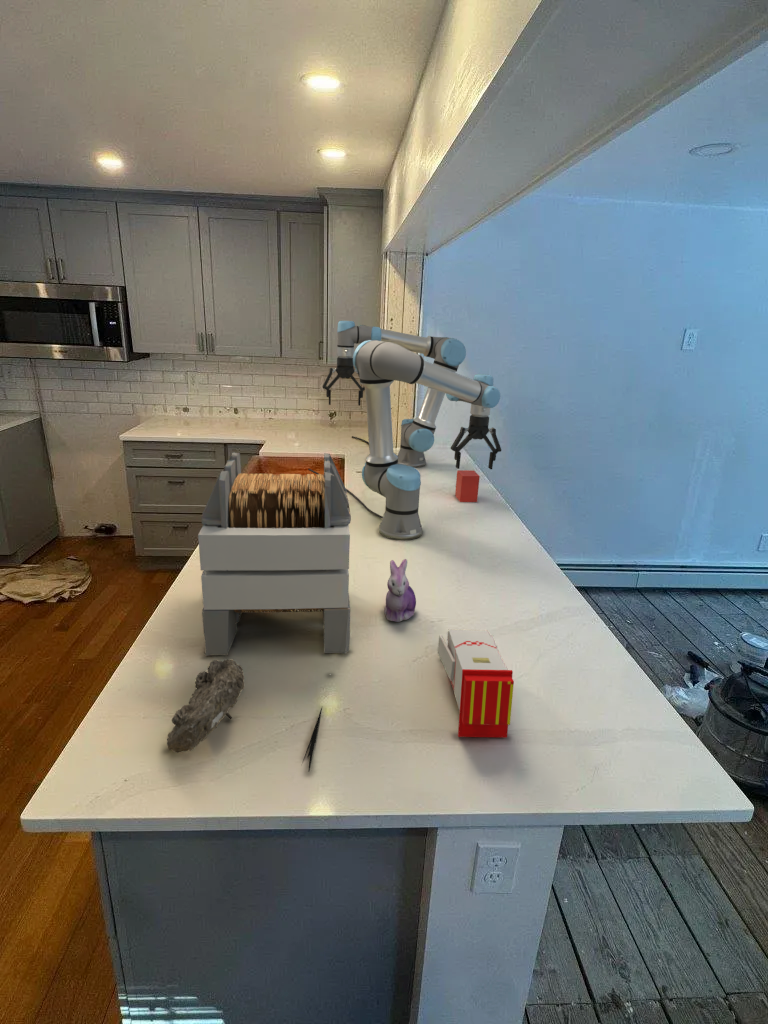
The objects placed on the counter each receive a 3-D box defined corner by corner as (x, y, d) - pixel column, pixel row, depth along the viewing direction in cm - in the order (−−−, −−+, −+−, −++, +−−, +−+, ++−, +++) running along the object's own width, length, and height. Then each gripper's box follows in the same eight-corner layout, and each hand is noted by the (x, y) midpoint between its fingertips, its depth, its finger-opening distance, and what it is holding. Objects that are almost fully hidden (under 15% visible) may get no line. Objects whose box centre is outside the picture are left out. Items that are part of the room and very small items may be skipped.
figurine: (392, 627, 141) (395, 572, 136) (374, 608, 149) (376, 556, 144) (425, 619, 145) (429, 566, 140) (405, 601, 154) (408, 550, 149)
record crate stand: (226, 586, 157) (217, 442, 143) (344, 585, 161) (346, 445, 147) (202, 658, 125) (189, 482, 112) (350, 654, 129) (354, 483, 115)
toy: (488, 613, 130) (523, 677, 101) (484, 667, 133) (517, 744, 104) (435, 612, 130) (455, 676, 101) (432, 666, 133) (451, 743, 103)
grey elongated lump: (192, 660, 117) (244, 628, 112) (224, 691, 120) (276, 661, 115) (142, 746, 98) (202, 712, 93) (182, 779, 101) (242, 748, 96)
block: (459, 502, 236) (462, 476, 232) (454, 495, 244) (457, 470, 240) (477, 502, 237) (479, 476, 233) (471, 495, 245) (474, 470, 241)
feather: (331, 679, 122) (336, 673, 122) (307, 777, 96) (313, 769, 95) (324, 675, 122) (329, 669, 121) (298, 772, 95) (304, 764, 95)
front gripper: (451, 416, 215) (446, 470, 222) (513, 418, 219) (506, 471, 226) (446, 412, 222) (441, 465, 229) (507, 414, 226) (500, 466, 233)
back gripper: (317, 356, 248) (317, 405, 256) (374, 358, 252) (372, 406, 259) (317, 355, 255) (317, 402, 263) (372, 357, 259) (370, 404, 266)
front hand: (473, 468), depth 227 cm, fingers open, 13 cm apart
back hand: (344, 404), depth 261 cm, fingers open, 13 cm apart
